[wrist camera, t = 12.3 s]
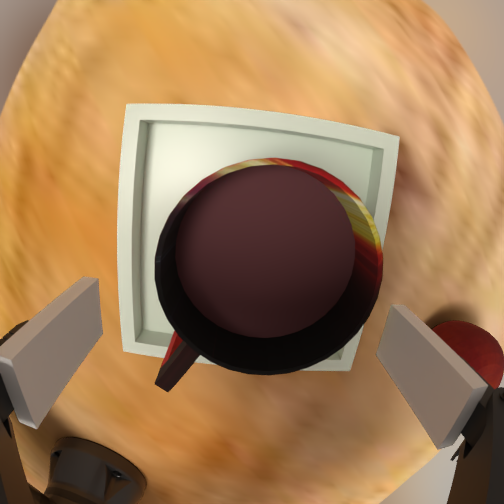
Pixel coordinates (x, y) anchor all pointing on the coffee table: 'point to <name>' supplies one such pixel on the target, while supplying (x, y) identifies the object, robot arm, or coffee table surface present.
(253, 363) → the mug
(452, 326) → the apple
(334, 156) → the tray
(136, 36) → the coffee table surface
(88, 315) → the robot arm
